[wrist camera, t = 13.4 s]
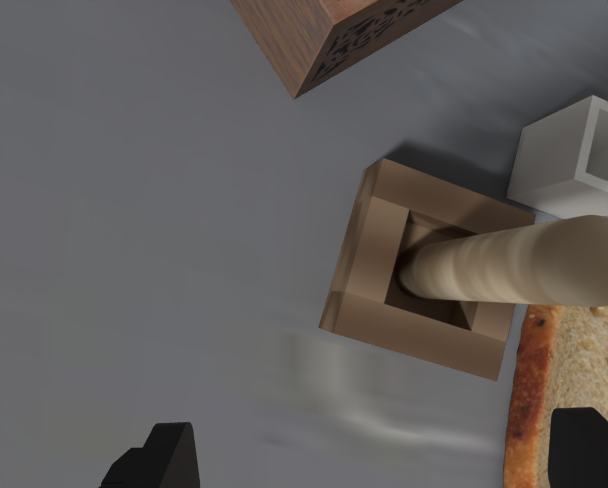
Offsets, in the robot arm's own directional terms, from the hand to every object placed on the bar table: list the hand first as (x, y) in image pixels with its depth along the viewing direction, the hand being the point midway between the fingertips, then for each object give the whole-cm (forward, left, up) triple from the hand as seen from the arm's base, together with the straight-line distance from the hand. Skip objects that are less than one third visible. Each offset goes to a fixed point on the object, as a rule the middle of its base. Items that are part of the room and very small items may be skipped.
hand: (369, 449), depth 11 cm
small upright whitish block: (-17, +17, -21) cm, 32 cm away
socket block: (-7, +9, -21) cm, 24 cm away
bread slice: (0, +23, -21) cm, 31 cm away
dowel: (-7, +9, -20) cm, 23 cm away
